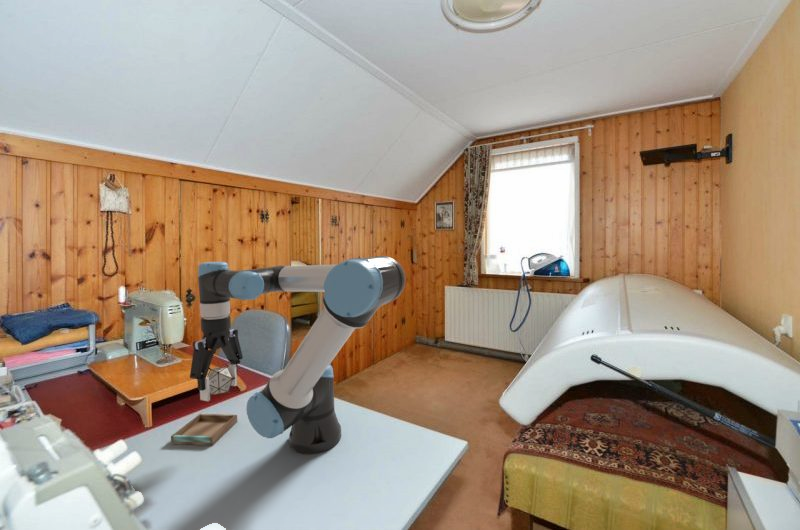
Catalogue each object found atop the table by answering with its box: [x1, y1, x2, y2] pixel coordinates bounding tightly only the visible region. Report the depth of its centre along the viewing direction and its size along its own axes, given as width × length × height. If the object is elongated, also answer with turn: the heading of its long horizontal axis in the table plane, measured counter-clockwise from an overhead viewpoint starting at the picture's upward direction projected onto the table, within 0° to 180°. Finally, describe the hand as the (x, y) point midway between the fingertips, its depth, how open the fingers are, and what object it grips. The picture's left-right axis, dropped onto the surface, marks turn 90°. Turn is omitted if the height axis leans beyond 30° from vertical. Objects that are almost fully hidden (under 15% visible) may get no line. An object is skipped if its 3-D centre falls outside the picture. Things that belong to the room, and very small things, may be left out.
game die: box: [206, 363, 235, 398], centre depth 101 cm, size 9×8×10 cm
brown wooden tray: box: [170, 413, 238, 446], centre depth 109 cm, size 13×13×2 cm
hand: (219, 392), depth 101 cm, fingers closed on game die, 9 cm apart
